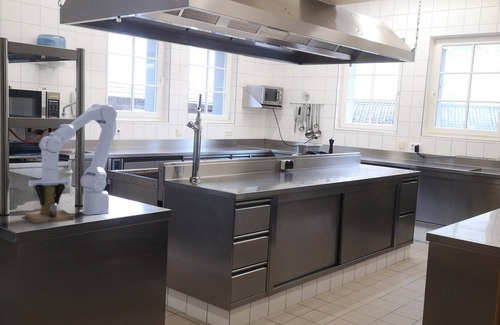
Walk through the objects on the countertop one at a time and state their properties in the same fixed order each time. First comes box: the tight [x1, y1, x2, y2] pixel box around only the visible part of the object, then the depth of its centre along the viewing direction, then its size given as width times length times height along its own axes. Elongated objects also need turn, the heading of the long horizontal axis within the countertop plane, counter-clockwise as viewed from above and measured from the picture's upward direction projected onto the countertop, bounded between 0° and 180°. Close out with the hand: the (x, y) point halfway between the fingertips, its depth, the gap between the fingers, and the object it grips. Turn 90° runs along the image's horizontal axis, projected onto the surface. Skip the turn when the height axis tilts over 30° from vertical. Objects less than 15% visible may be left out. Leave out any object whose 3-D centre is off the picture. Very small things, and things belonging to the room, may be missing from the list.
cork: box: [39, 185, 56, 215], centre depth 185 cm, size 6×6×11 cm
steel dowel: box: [49, 203, 58, 217], centre depth 180 cm, size 2×2×5 cm
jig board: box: [24, 209, 74, 224], centre depth 184 cm, size 14×12×2 cm
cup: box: [58, 168, 74, 194], centre depth 236 cm, size 7×7×12 cm
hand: (49, 204), depth 184 cm, fingers closed on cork, 5 cm apart
